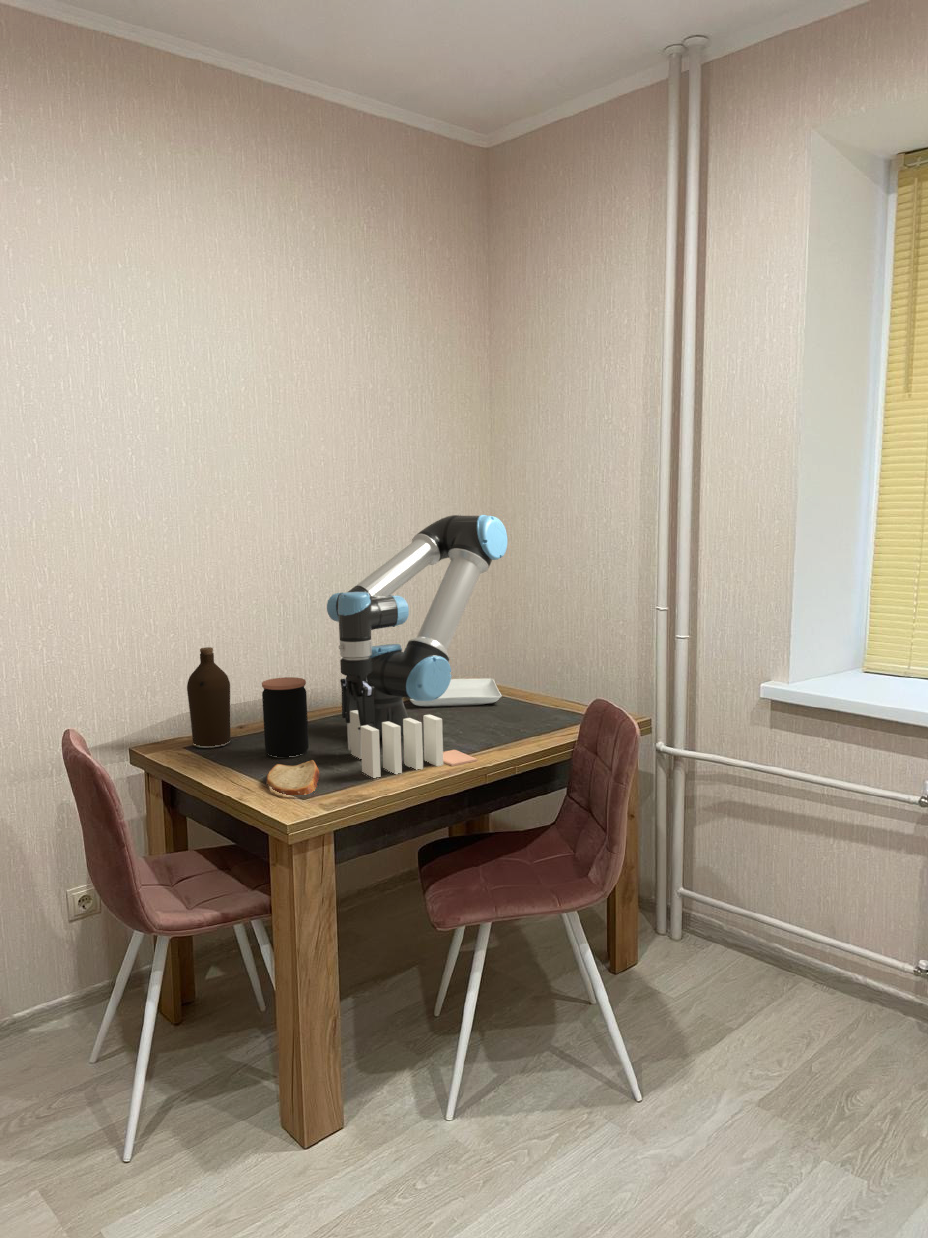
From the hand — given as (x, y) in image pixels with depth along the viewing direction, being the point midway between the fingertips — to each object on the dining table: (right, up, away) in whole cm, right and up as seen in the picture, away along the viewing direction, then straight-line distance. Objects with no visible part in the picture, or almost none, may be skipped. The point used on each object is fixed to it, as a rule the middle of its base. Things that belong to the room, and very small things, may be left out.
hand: (359, 751), depth 227 cm
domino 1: (0, -1, 0) cm, 1 cm away
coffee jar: (-18, -1, +5) cm, 19 cm away
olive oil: (-40, 0, +15) cm, 42 cm away
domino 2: (+4, -3, -15) cm, 16 cm away
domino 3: (+9, -3, -12) cm, 15 cm away
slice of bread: (-12, -5, -19) cm, 22 cm away
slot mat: (+23, -1, -3) cm, 23 cm away
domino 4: (+14, -2, -9) cm, 16 cm away
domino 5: (+18, -2, -6) cm, 19 cm away
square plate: (+22, +7, +62) cm, 66 cm away
